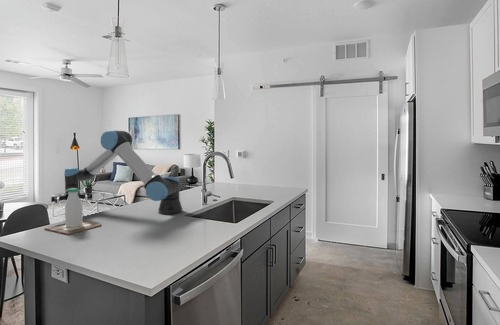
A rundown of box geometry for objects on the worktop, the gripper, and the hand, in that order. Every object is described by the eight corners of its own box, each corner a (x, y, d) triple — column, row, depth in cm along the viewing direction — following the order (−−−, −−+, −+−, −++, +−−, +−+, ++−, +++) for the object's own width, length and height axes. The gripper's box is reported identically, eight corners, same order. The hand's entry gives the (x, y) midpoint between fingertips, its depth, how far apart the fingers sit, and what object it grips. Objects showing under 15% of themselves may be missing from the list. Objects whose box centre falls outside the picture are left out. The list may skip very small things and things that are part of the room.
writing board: (101, 225, 159) (101, 224, 159) (68, 235, 143) (68, 233, 143) (78, 221, 168) (78, 219, 168) (44, 229, 152) (44, 228, 152)
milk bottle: (86, 224, 157) (84, 188, 156) (72, 228, 150) (70, 190, 149) (76, 223, 161) (75, 187, 159) (62, 226, 154) (60, 189, 152)
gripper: (95, 198, 187) (98, 204, 169) (48, 202, 174) (45, 209, 156) (95, 186, 186) (97, 191, 168) (47, 190, 173) (44, 195, 155)
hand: (72, 200), depth 162 cm, fingers open, 13 cm apart
